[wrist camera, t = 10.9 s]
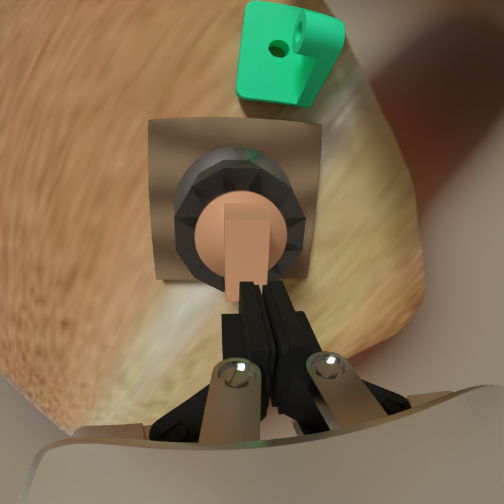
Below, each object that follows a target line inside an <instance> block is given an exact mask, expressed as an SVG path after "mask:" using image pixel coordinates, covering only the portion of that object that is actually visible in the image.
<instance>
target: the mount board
mask: <svg viewBox="0 0 504 504" xmlns="http://www.w3.org/2000/svg"><path fill="white" fill-rule="evenodd" d="M321 135H322V125H321V124H314V123H305V122H296V121H285V120H273V119H257V118H231V117H194V118H169V119H153V120H149V126H148V170H149V198H150V216H151V230H152V242H153V253H154V262H155V271H156V279H169V280H198V279H196V278H194V277H193V275H192V274H191V272H190V271H189V269H188V268H187V266H186V265H185V264H184V262H183V261H182V259H181V258H180V256H179V255H178V253H177V252H176V244H175V226H174V216H175V212H174V199H175V193H176V190H177V187H178V184H179V182H180V180H181V178H182V176H183V175H184V173H185V172H186V170H187V169H188V168H189V167H190V166H191V165H192V164H193V163H194V162H195V161H196V160H197V159H198V158H200V157H201V156H203V155H204V154H206V153H208V152H210V151H212V150H215V149H218V148H222V147H228V146H239V147H246V148H251V149H254V150H257V151H259V152H261V153H263V154H265V155H267V156H269V157H270V158H271V159H273V160H274V161H275V162H276V163H277V164H278V165H279V166H280V167H281V168H282V169H283V171H284V172H285V174H286V175H287V177H288V179H289V181H290V183H291V186H292V190H293V192H294V194H295V196H296V198H297V200H298V202H299V204H300V207H301V209H302V211H303V213H304V215H305V217H306V223H305V233H304V242H303V251H302V252H301V253H300V255H299V256H298V258H297V259H296V260H295V262H294V263H293V265H292V266H291V267H290V269H289V270H288V271H287V273H286V274H285V276H284V277H282V278H307V273H308V266H309V259H310V251H311V243H312V235H313V226H314V217H315V208H316V198H317V187H318V176H319V164H320V150H321ZM282 278H280V279H282Z"/></svg>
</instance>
